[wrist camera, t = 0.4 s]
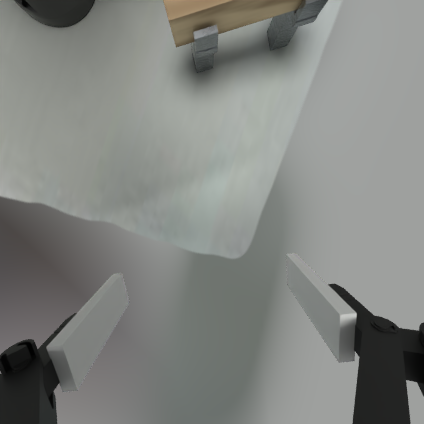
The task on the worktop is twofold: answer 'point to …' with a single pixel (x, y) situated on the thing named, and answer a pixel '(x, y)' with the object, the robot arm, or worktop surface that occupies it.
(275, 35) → the post
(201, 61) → the post
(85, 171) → the worktop surface
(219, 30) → the rail
